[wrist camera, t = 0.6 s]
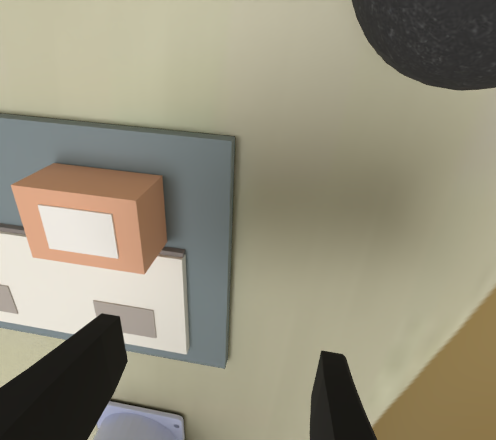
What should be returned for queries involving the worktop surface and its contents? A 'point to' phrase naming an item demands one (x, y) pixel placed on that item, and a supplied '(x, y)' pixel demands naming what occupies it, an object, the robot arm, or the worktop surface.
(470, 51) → the light bulb
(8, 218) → the mat
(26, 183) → the stub
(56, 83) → the worktop surface
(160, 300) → the ticket
